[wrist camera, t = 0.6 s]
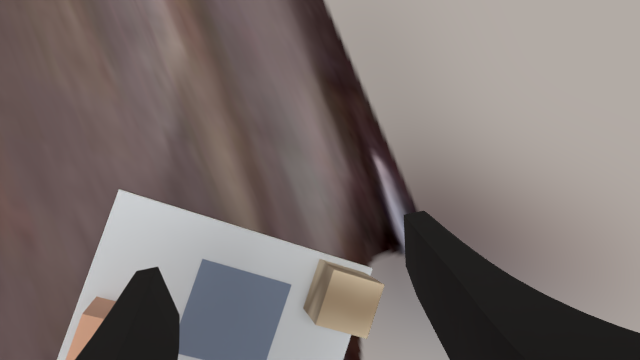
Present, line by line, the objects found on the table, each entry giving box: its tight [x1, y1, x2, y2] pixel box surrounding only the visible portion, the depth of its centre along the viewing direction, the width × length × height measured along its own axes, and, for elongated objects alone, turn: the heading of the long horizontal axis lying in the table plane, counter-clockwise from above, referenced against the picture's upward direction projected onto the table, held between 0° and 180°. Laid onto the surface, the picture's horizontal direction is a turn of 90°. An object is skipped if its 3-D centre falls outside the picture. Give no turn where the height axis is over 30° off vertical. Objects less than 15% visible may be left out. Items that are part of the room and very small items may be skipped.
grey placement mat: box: [57, 189, 372, 360], centre depth 35 cm, size 13×20×1 cm, turn 72°
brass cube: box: [303, 259, 384, 339], centre depth 34 cm, size 4×4×4 cm
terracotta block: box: [66, 296, 116, 360], centre depth 31 cm, size 5×5×4 cm
